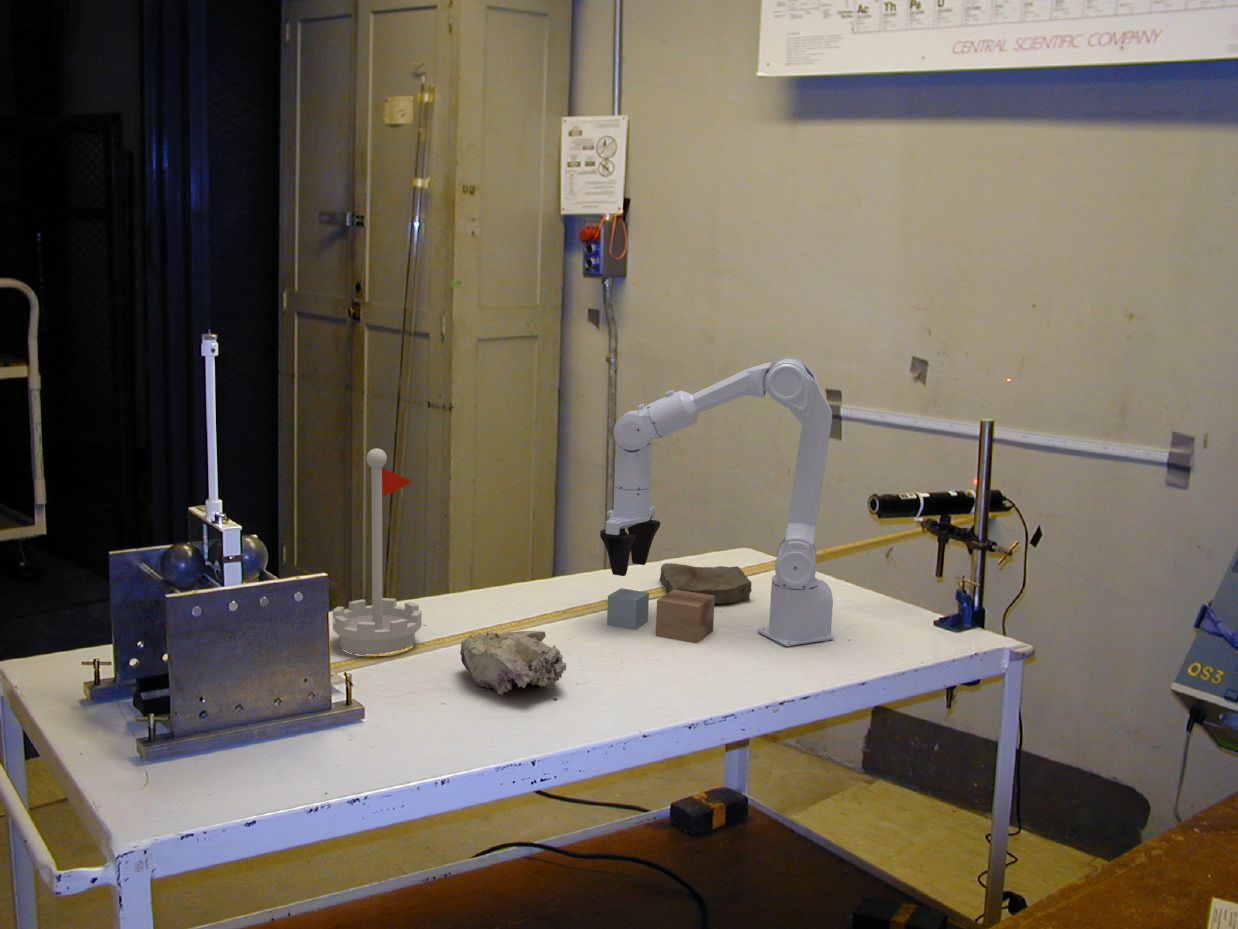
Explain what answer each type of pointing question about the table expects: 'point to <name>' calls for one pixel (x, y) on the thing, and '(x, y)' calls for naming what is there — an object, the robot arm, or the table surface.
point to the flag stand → (378, 586)
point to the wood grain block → (685, 616)
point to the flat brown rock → (707, 581)
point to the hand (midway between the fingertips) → (629, 569)
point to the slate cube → (627, 609)
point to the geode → (511, 660)
